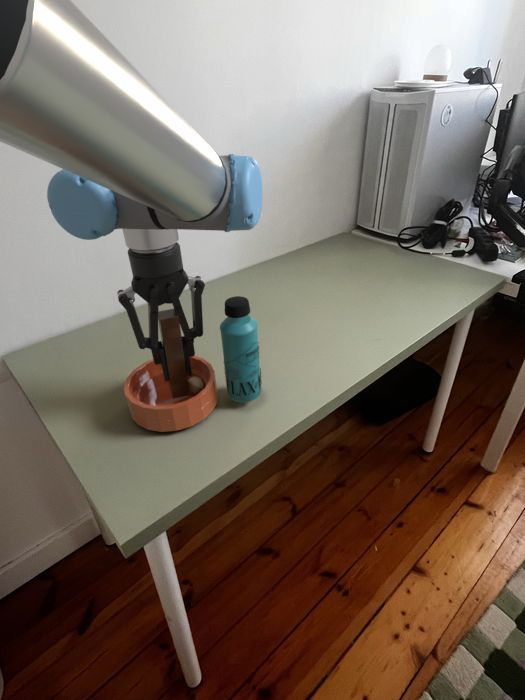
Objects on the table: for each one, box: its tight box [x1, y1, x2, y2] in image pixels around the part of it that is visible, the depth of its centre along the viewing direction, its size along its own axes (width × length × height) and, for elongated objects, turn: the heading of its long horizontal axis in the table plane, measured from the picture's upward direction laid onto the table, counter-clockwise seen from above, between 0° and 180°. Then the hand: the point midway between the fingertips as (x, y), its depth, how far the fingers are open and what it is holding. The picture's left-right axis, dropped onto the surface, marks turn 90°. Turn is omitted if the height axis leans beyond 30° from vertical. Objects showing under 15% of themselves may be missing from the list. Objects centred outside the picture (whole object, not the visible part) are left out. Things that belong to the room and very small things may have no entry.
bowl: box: [123, 354, 219, 433], centre depth 77 cm, size 16×16×6 cm
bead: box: [188, 376, 204, 394], centre depth 79 cm, size 3×3×3 cm
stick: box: [158, 308, 189, 399], centre depth 74 cm, size 3×3×16 cm
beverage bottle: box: [219, 295, 263, 403], centre depth 74 cm, size 6×7×20 cm
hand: (177, 373), depth 76 cm, fingers closed on stick, 3 cm apart
